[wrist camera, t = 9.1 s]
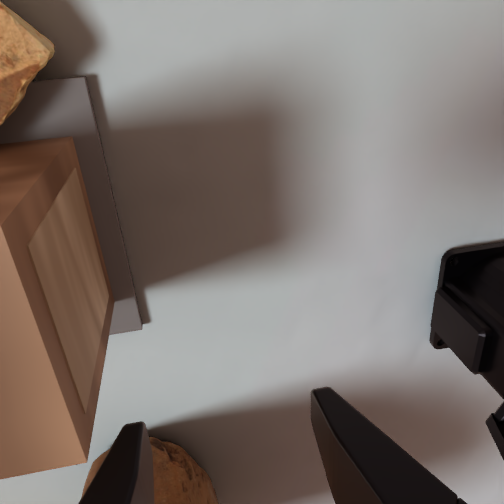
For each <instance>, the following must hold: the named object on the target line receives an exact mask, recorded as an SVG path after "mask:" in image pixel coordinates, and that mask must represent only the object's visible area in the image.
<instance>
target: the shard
mask: <svg viewBox="0 0 504 504" xmlns="http://www.w3.org/2000/svg"><path fill="white" fill-rule="evenodd" d="M54 52H55V51H54V44H53V43H52V42H51V41H50V40H49V39H47V38H46V37H45V36H44V35H42V34H40V33H39V32H38V31H37V30H36V29H34V28H33V27H32V26H31V25H29V24H28V23H27V22H26V21H24V20H23V19H22V18H21V17H20V16H18V15H17V14H16V13H15V12H13V11H12V10H11V9H9V8H8V7H6V6H5V5H4V4H3V3H2V2H1V1H0V125H2V124H3V123H4V121H5V120H6V119H7V118H8V117H9V116H10V115H11V114H12V113H13V112H14V111H15V109H16V108H17V106H18V105H19V103H20V102H21V100H22V99H23V98H24V96H25V93H26V89H27V86H28V85H29V83H30V82H31V81H32V80H33V79H34V78H35V77H36V75H37V73H38V72H39V71H40V70H41V69H42V68H44V67H45V66H46V64H47V61H49V60H50V59H51V58H52V57H53V55H54Z"/></svg>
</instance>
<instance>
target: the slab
mask: <svg viewBox="0 0 504 504" xmlns="http://www.w3.org/2000/svg"><path fill="white" fill-rule="evenodd" d="M114 303H115V301H114V297H113V294H112V290H111V286H110V282H109V278H108V274H107V270H106V266H105V262H104V258H103V255H102V251H101V247H100V243H99V239H98V235H97V231H96V227H95V223H94V219H93V216H92V212H91V208H90V204H89V200H88V196H87V192H86V188H85V184H84V181H83V177H82V173H81V169H80V165H79V161H78V157H77V153H76V149H75V145H74V142H73V138H72V136H71V137H61V138H52V139H43V140H33V141H24V142H15V143H5V144H0V479H4V478H10V477H15V476H20V475H25V474H30V473H35V472H40V471H45V470H50V469H56V468H61V467H66V466H71V465H76V464H81V463H86V462H87V460H88V454H89V448H90V442H91V437H92V431H93V425H94V419H95V413H96V408H97V402H98V396H99V390H100V384H101V379H102V373H103V367H104V361H105V355H106V350H107V344H108V338H109V332H110V326H111V320H112V315H113V309H114Z"/></svg>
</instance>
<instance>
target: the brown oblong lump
mask: <svg viewBox="0 0 504 504" xmlns="http://www.w3.org/2000/svg"><path fill="white" fill-rule="evenodd" d="M149 440H150V444H151V448H152V456H153V478H154V503H155V504H218V501H217V497H216V494H215V490H214V488H213V486H212V483H211V479H210V478H209V476H208V474H207V473H206V472H205V470H204V469H202V468H200V467H199V465H198V464H197V463H196V462H195V461H194V459H193V458H191V457H190V455H189V454H188V453H187V452H186V451H185V450H184V449H183V448H182V447H181V446H178V445H176V444H173V443H171V442H162V441H160V440H159V439H157V438H154V437H149ZM109 450H110V449H109ZM109 450H107V451H106V452H104V453H103V454H101V455H100V456H99V457H98V458H97V459H96V460H95V461H94V462H93V464H92V466H91V469H90V471H89V474H88V477H87V479H86V482H85V486H84V489H83V494H82V497H83V495H84V493H85V492H86V490H87V488H88V486H89V485H90V483H91V481H92V479H93V478H94V476H95V474H96V473H97V471H98V469H99V467H100V466H101V464H102V462H103V460H104V459H105V457H106V455H107V454H108V452H109Z"/></svg>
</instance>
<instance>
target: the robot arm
mask: <svg viewBox="0 0 504 504" xmlns="http://www.w3.org/2000/svg"><path fill="white" fill-rule="evenodd" d="M452 258H454V260H453V261H452V262H450V260H451V259H452ZM430 343H431V344H432V346H433V347H434V348H435V349H443V348H450V349H451V350H452V351H453V352H454V353H455V355H456V356H457V357H458V358H459V359H460V360H461V361H462V362H463V364H464V365H465V366H466V367H467V368H468V369H469V370H470V371H471V372H472V373H473V374H481V375H482V376H483V377H484V378H485V379H486V380H487V382H488V383H489V384H490V385H491V386H492V387H493V388H494V389H495V390H496V391H497V393H498V394H499V395H500V396H501V397H502V398H503V399H504V242H502V243H495V244H489V245H482V246H476V247H469V248H463V249H456V250H450V251H448V252H446V253H445V254H444V255H443V256H442V259H441V266H440V272H439V279H438V286H437V290H436V292H435V299H434V306H433V313H432V320H431V333H430ZM311 421H312V426H313V430H314V433H315V437H316V440H317V444H318V447H319V451H320V454H321V458H322V461H323V465H324V469H325V472H326V476H327V479H328V483H329V486H330V489H331V492H332V495H333V498H334V501H335V503H336V504H467V503H466V502H465V501H463V500H462V499H461V498H457V495H456V494H455V493H454V492H453V491H452V490H450V489H449V488H448V487H447V486H446V485H444V484H443V483H442V482H441V481H440V480H439V479H437V478H436V477H435V476H434V475H433V474H432V473H430V472H429V471H428V470H427V469H426V468H424V467H423V466H422V465H421V464H420V463H419V462H417V461H416V460H415V459H414V458H413V457H412V456H410V455H409V454H408V453H407V452H406V451H404V450H403V449H402V448H401V447H400V446H399V445H397V444H396V443H395V442H394V441H393V440H392V439H390V438H389V437H388V436H387V435H386V434H385V433H383V432H382V431H381V430H380V429H379V428H377V427H376V426H375V425H374V424H373V423H372V422H370V421H369V420H368V419H367V418H366V417H365V416H363V415H362V414H361V413H360V412H359V411H357V410H356V409H355V408H354V407H353V406H352V405H350V404H349V403H348V402H347V401H346V400H345V399H343V398H342V397H341V396H340V395H339V394H337V393H336V392H335V391H334V390H333V389H332V388H330V387H322V388H317V389H313V390H312V391H311ZM486 424H487V427H488V429H489V431H490V433H491V435H492V437H493V439H494V441H495V443H496V445H497V447H498V449H499V452H500V454H501V456H502V458H503V460H504V401H503V403H502V404H501V405H500V407H499V408H498V409H497V411H496V412H495V413H492V414H491V415H490V416H489V418H488V419H487V420H486ZM79 504H155V503H154V478H153V456H152V448H151V444H150V440H149V436H148V432H147V429H146V425H145V423H144V422H136V423H130V424H126V425H125V426H123V428H122V429H121V431H120V433H119V435H118V436H117V438H116V440H115V441H114V443H113V445H112V447H111V448H110V450H109V452H108V454H107V455H106V457H105V459H104V460H103V462H102V464H101V466H100V467H99V469H98V471H97V473H96V474H95V476H94V478H93V479H92V481H91V483H90V485H89V486H88V488H87V490H86V492H85V493H84V495H83V497H82V498H81V500H80V502H79Z"/></svg>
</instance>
